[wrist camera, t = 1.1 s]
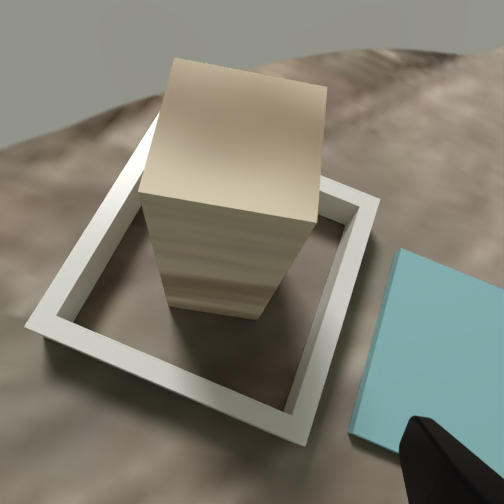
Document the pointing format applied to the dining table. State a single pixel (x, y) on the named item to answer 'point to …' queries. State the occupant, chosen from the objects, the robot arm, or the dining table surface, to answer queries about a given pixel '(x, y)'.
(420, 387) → the teal board
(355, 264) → the tray
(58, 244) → the dining table surface
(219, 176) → the birch block
